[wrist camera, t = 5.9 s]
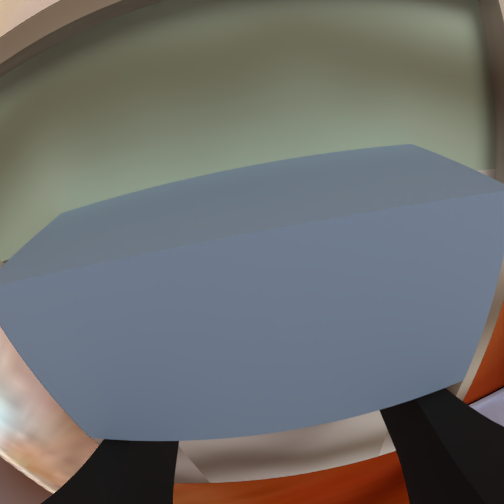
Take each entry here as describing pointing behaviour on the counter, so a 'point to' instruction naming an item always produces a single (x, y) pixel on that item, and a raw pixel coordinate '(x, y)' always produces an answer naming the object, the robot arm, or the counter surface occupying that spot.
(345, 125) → the trap tray
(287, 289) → the block
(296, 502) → the counter surface
